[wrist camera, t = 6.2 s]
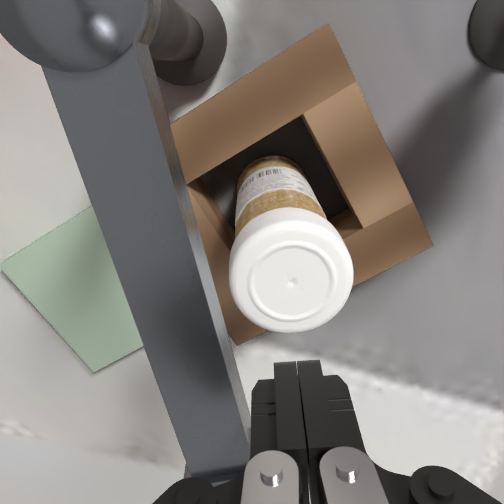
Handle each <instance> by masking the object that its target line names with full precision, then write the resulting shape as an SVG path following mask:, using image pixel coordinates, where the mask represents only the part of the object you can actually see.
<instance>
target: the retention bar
mask: <svg viewBox="0 0 504 504" xmlns="http://www.w3.org/2000/svg"><path fill="white" fill-rule="evenodd" d="M160 13H161V0H0V33H1V34H2V36H3V37H4V38H5V39H6V40H7V41H8V42H9V43H10V44H11V45H12V46H13V47H14V48H15V49H16V50H17V51H18V52H20V53H21V54H22V55H24V56H25V57H27V58H28V59H30V60H32V61H33V62H35V63H37V64H39V65H41V67H42V70H43V72H44V75H45V78H46V81H47V83H48V86H49V89H50V91H51V94H52V97H53V100H54V102H55V105H56V108H57V111H58V113H59V116H60V119H61V121H62V124H63V127H64V130H65V132H66V135H67V138H68V141H69V143H70V146H71V149H72V152H73V154H74V157H75V160H76V162H77V165H78V168H79V171H80V173H81V176H82V179H83V182H84V184H85V187H86V190H87V193H88V195H89V198H90V201H91V203H92V206H93V209H94V212H95V214H96V217H97V220H98V223H99V225H100V228H101V231H102V233H103V236H104V239H105V242H106V244H107V247H108V250H109V253H110V255H111V258H112V261H113V264H114V266H115V269H116V272H117V274H118V277H119V280H120V283H121V285H122V288H123V291H124V294H125V296H126V299H127V302H128V305H129V307H130V310H131V313H132V315H133V318H134V321H135V324H136V326H137V329H138V332H139V335H140V337H141V340H142V343H143V345H144V348H145V351H146V354H147V356H148V359H149V362H150V365H151V367H152V370H153V373H154V376H155V378H156V381H157V384H158V386H159V389H160V392H161V395H162V397H163V400H164V403H165V406H166V408H167V411H168V414H169V417H170V419H171V422H172V425H173V427H174V430H175V433H176V436H177V438H178V441H179V444H180V447H181V449H182V452H183V455H184V458H185V460H186V466H185V473H184V479H185V478H190V477H198V478H203V479H205V480H207V481H209V482H210V483H211V484H212V485H213V487H214V486H217V485H220V484H223V483H226V482H228V481H230V480H233V479H234V478H236V477H237V476H239V475H240V474H241V473H242V472H243V471H244V470H245V468H246V466H247V464H248V462H249V459H250V442H251V416H250V412H249V409H248V405H247V402H246V398H245V394H244V391H243V387H242V383H241V380H240V376H239V373H238V369H237V365H236V362H235V358H234V355H233V351H232V347H231V344H230V340H229V336H228V333H227V329H226V326H225V322H224V318H223V315H222V311H221V308H220V304H219V300H218V297H217V293H216V289H215V286H214V282H213V279H212V275H211V271H210V268H209V264H208V261H207V257H206V253H205V250H204V246H203V242H202V239H201V235H200V232H199V228H198V224H197V221H196V217H195V213H194V210H193V206H192V203H191V199H190V195H189V192H188V188H187V185H186V181H185V177H184V174H183V170H182V166H181V163H180V159H179V156H178V152H177V148H176V145H175V141H174V138H173V134H172V130H171V127H170V123H169V119H168V116H167V112H166V109H165V105H164V101H163V98H162V94H161V91H160V87H159V83H158V80H157V76H156V72H155V69H154V65H153V62H152V58H151V54H150V51H149V47H148V46H149V45H150V43H151V41H152V40H153V38H154V35H155V33H156V31H157V27H158V24H159V20H160Z"/></svg>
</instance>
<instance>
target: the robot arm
mask: <svg viewBox="0 0 504 504" xmlns="http://www.w3.org/2000/svg"><path fill="white" fill-rule="evenodd" d="M297 370H298V375H297ZM251 405H252V407H251V442H250V459H249V462H248V464H247V466H246V468H245V470H244V471H243V472H242V473H241V474H240V475H239V476H237V477H236V478H234V479H233V480H230V481H228V482H226V483H223V484H220V485H217V486H214V487H213V485H212V484H211V483H210V482H209V481H207V480H205V479H203V478H198V477H190V478H185V479H182V480H180V481H178V482H176V483H174V484H173V485H172V486H171V487H169V488H168V490H166V491H165V492H164V493H163V494H162V495H161V496H160V497H159V498H158V499H157V500H156V501H155V502H154V503H153V504H310V502H309V491H310V499H311V504H502V503H500V502H499V501H497V500H496V499H494V498H493V497H491V496H490V495H488V494H487V493H485V492H484V491H482V490H481V489H479V488H478V487H476V486H475V485H473V484H472V483H470V482H469V481H467V480H466V479H464V478H463V477H461V476H460V475H458V474H457V473H455V472H453V471H452V470H449V469H447V468H444V467H440V466H425V467H422V468H420V469H418V470H416V471H415V472H414V473H413V474H412V476H411V477H410V476H405V475H401V474H397V473H393V472H389V471H387V470H385V469H383V468H381V467H379V466H378V465H377V464H375V463H374V462H373V461H372V460H371V459H370V458H369V456H368V455H367V453H366V451H365V448H364V444H363V440H362V437H361V433H360V430H359V426H358V422H357V419H356V415H355V411H354V408H353V404H352V400H351V397H350V393H349V390H348V386H347V384H346V383H345V382H344V381H343V380H342V379H341V378H340V377H339V376H338V375H328V376H323V374H322V369H321V364H320V360H308V361H297V367H296V361H294V362H279V363H274V379H266V380H258V382H257V383H256V385H255V387H254V388H253V390H252V401H251ZM308 482H309V485H308Z"/></svg>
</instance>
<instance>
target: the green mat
mask: <svg viewBox="0 0 504 504" xmlns="http://www.w3.org/2000/svg"><path fill="white" fill-rule="evenodd" d="M0 269H1V270H2V271H3V272H4V273H5V274H6V275H7V276H8V277H9V279H10V280H11V281H12V282H13V283H14V284H15V285H16V286H17V288H18V289H19V290H20V291H21V292H22V293H23V294H24V295H25V296H26V298H27V299H28V300H29V301H30V302H31V303H32V304H33V305H34V307H35V308H36V309H37V310H38V311H39V312H40V313H41V314H42V315H43V317H44V318H45V319H46V320H47V321H48V322H49V323H50V324H51V325H52V327H53V328H54V329H55V330H56V331H57V332H58V333H59V334H60V336H61V337H62V338H63V339H64V340H65V341H66V342H67V343H68V344H69V346H70V347H71V348H72V349H73V350H74V351H75V352H76V353H77V354H78V356H79V357H80V358H81V359H82V360H83V361H84V362H85V363H86V365H87V366H88V367H89V368H90V369H91V370H92V371H93V372H96V371H98V370H99V369H101V368H103V367H105V366H107V365H109V364H111V363H113V362H114V361H116V360H118V359H120V358H122V357H124V356H126V355H127V354H129V353H131V352H133V351H135V350H137V349H139V348H141V347H142V346H144V345H143V343H142V340H141V337H140V335H139V332H138V329H137V326H136V324H135V321H134V318H133V315H132V313H131V310H130V307H129V305H128V302H127V299H126V296H125V294H124V291H123V288H122V285H121V283H120V280H119V277H118V274H117V272H116V269H115V266H114V264H113V261H112V258H111V255H110V253H109V250H108V247H107V244H106V242H105V239H104V236H103V233H102V231H101V228H100V225H99V223H98V220H97V217H96V214H95V212H94V209H93V206H91V207H89V208H87V209H86V210H84V211H83V212H81V213H79V214H78V215H76V216H75V217H73V218H72V219H70V220H68V221H67V222H65V223H64V224H62V225H60V226H59V227H57V228H56V229H54V230H52V231H51V232H49V233H48V234H46V235H44V236H43V237H41V238H40V239H38V240H36V241H35V242H33V243H32V244H30V245H28V246H27V247H25V248H24V249H22V250H20V251H19V252H17V253H16V254H14V255H12V256H11V257H9V258H8V259H6V260H4V261H3V262H2V263H1V264H0Z"/></svg>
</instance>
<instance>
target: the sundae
mask: <svg viewBox="0 0 504 504" xmlns="http://www.w3.org/2000/svg"><path fill="white" fill-rule="evenodd" d="M470 41H471V44H472V47H473V49H474V51H475V53H476V55H477V56H478V57H479V58H480V60H481V61H482V62H484V63H485V64H487V65H488V66H490V67H493V68H496V69H502V70H504V0H478V1H477V3H476V5H475V7H474V10H473V13H472V16H471V20H470Z"/></svg>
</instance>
